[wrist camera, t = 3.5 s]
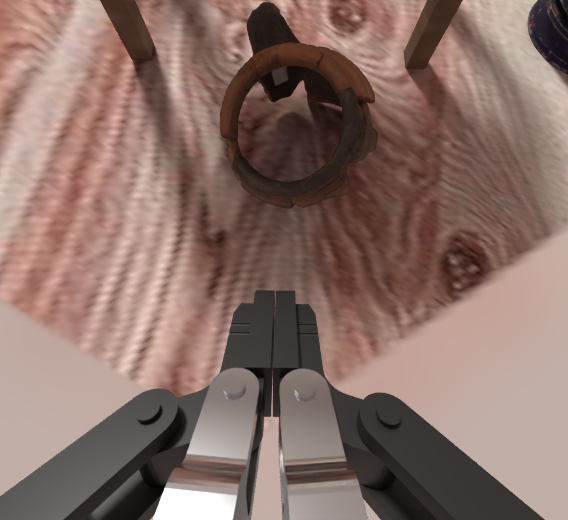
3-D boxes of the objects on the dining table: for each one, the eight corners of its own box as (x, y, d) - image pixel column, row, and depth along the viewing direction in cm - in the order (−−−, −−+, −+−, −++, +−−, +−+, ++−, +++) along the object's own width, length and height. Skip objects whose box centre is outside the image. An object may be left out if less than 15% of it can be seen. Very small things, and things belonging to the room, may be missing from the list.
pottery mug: (398, 171, 21) (417, 153, 13) (286, 229, 24) (246, 243, 16) (325, 15, 20) (297, -104, 12) (220, 96, 23) (145, 43, 15)
